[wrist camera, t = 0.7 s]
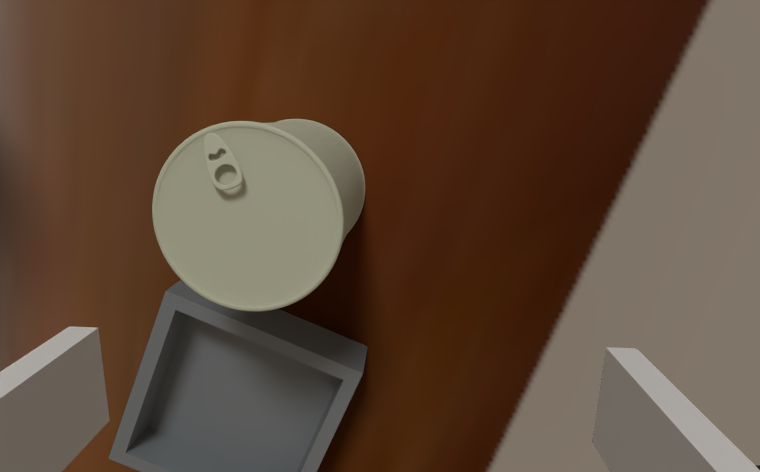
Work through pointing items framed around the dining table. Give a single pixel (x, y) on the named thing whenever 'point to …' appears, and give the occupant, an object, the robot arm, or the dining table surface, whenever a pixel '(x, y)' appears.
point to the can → (257, 210)
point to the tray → (235, 390)
